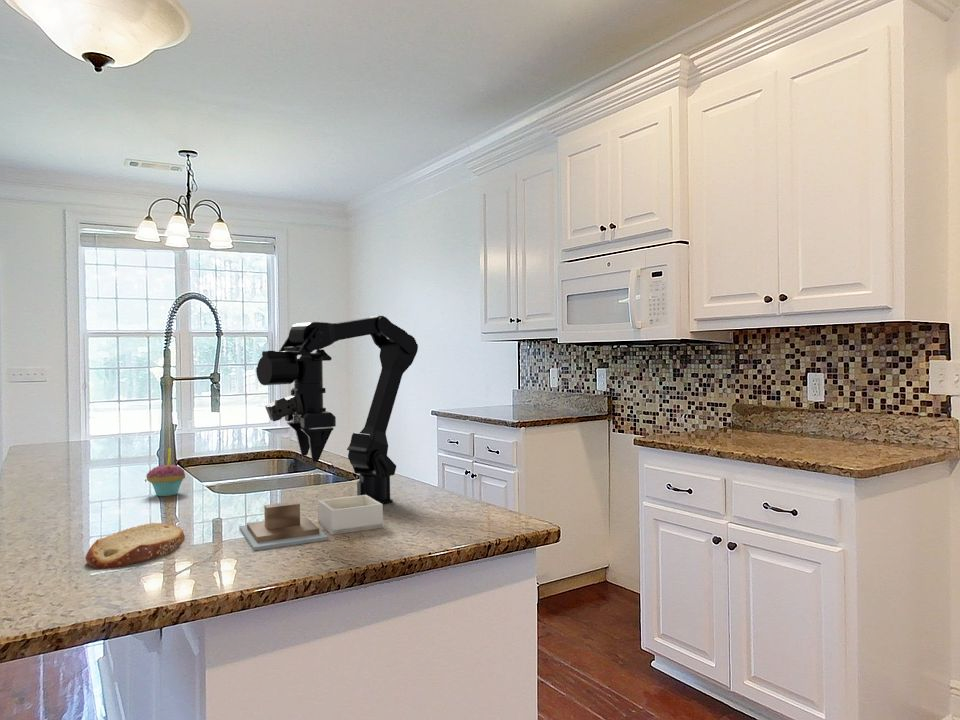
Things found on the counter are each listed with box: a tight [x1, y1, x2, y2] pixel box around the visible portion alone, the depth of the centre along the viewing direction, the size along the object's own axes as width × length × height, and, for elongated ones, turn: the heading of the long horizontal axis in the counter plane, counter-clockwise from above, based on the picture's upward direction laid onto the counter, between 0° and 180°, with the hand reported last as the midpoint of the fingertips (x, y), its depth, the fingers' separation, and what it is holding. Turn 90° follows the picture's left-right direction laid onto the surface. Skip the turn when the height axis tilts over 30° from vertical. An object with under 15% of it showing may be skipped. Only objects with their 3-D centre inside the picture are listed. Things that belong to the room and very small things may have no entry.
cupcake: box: [145, 445, 186, 497], centre depth 163 cm, size 9×8×12 cm
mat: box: [238, 524, 329, 552], centre depth 126 cm, size 13×16×1 cm
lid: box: [246, 501, 320, 543], centre depth 126 cm, size 11×11×5 cm
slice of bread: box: [85, 522, 186, 570], centre depth 118 cm, size 18×18×4 cm
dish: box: [317, 495, 384, 536], centre depth 132 cm, size 10×10×4 cm
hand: (309, 458), depth 139 cm, fingers open, 9 cm apart
